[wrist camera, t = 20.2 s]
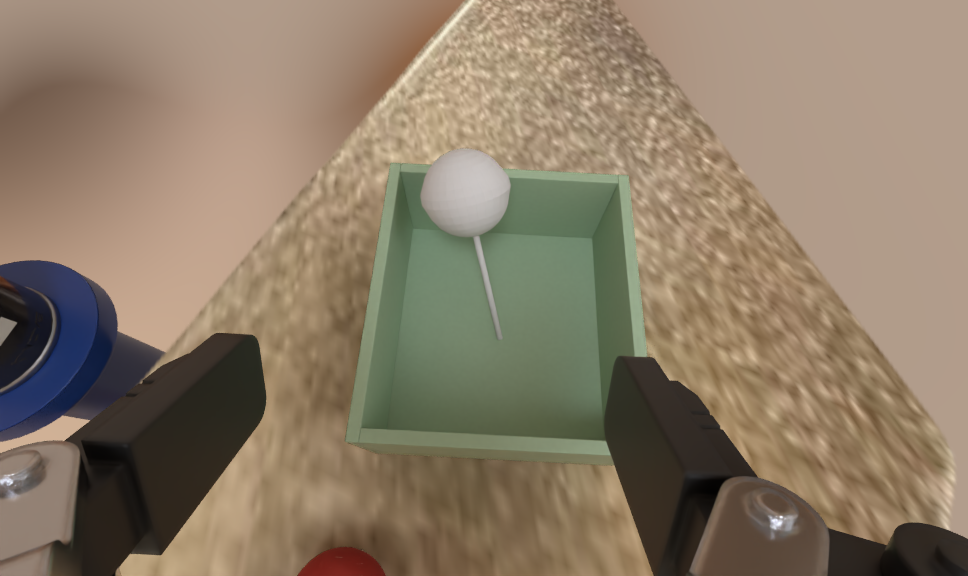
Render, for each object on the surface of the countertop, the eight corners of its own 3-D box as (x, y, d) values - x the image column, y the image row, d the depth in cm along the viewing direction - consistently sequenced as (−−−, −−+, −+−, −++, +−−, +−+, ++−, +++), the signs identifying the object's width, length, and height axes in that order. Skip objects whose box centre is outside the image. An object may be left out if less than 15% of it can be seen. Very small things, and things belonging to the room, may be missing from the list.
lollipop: (456, 364, 34) (397, 170, 27) (468, 321, 39) (422, 148, 32) (537, 358, 33) (497, 151, 26) (539, 314, 38) (506, 132, 31)
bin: (375, 453, 33) (344, 442, 25) (406, 226, 41) (390, 162, 33) (612, 465, 33) (658, 458, 25) (597, 237, 41) (628, 175, 33)
